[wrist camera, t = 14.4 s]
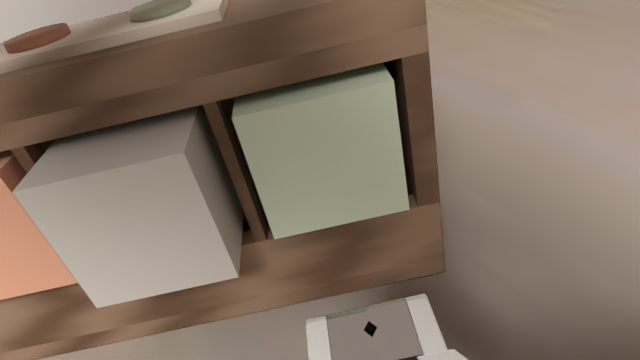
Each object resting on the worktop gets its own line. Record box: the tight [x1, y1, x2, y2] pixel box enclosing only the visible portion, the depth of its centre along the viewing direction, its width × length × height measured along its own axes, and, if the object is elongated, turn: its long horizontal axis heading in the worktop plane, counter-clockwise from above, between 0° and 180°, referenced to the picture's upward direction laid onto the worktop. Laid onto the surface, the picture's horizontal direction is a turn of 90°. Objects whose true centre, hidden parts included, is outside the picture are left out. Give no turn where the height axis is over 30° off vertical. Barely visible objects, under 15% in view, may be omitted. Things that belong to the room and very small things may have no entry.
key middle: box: [12, 105, 244, 308], centre depth 19 cm, size 6×4×6 cm
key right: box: [232, 62, 410, 239], centre depth 20 cm, size 6×4×6 cm
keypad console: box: [0, 0, 445, 360], centre depth 22 cm, size 24×6×15 cm, turn 95°
